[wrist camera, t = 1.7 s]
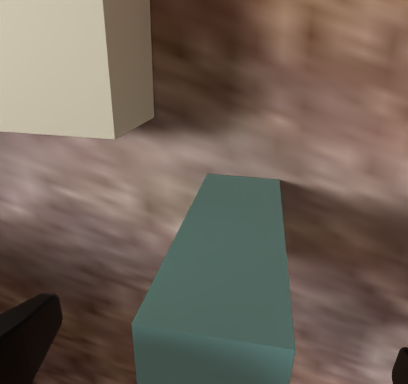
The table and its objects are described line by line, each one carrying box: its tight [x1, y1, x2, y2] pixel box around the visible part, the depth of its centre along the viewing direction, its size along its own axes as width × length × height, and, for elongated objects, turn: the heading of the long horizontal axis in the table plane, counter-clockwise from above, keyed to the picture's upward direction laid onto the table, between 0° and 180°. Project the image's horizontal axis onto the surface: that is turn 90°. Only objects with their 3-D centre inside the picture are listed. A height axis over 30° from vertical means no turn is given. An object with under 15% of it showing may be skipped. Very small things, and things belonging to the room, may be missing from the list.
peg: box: [132, 174, 295, 384], centre depth 11 cm, size 3×3×9 cm
